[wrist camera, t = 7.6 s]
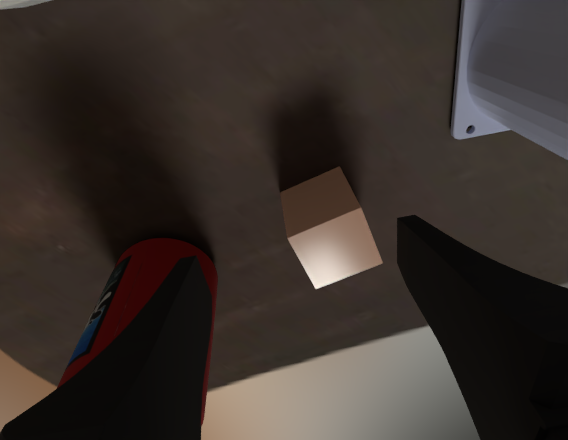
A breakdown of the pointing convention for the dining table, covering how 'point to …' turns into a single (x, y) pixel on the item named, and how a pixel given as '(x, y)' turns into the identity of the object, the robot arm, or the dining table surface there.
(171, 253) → the beverage can
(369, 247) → the terracotta block
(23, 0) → the grey slab
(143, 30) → the dining table surface
